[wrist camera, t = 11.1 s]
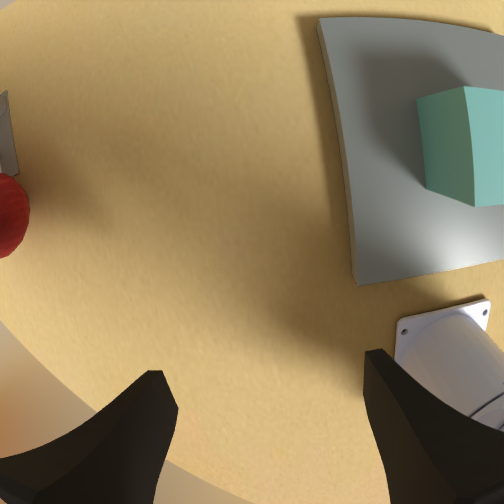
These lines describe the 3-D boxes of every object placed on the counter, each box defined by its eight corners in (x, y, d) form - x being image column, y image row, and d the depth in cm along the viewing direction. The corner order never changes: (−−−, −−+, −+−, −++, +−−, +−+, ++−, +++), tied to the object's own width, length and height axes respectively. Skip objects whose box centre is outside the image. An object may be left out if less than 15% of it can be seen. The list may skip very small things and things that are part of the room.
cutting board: (519, 246, 17) (531, 252, 16) (352, 275, 19) (357, 286, 17) (502, 42, 13) (513, 38, 11) (315, 27, 14) (319, 18, 13)
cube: (491, 184, 15) (544, 199, 10) (425, 189, 15) (474, 207, 11) (483, 102, 13) (537, 97, 8) (415, 98, 14) (463, 86, 9)
